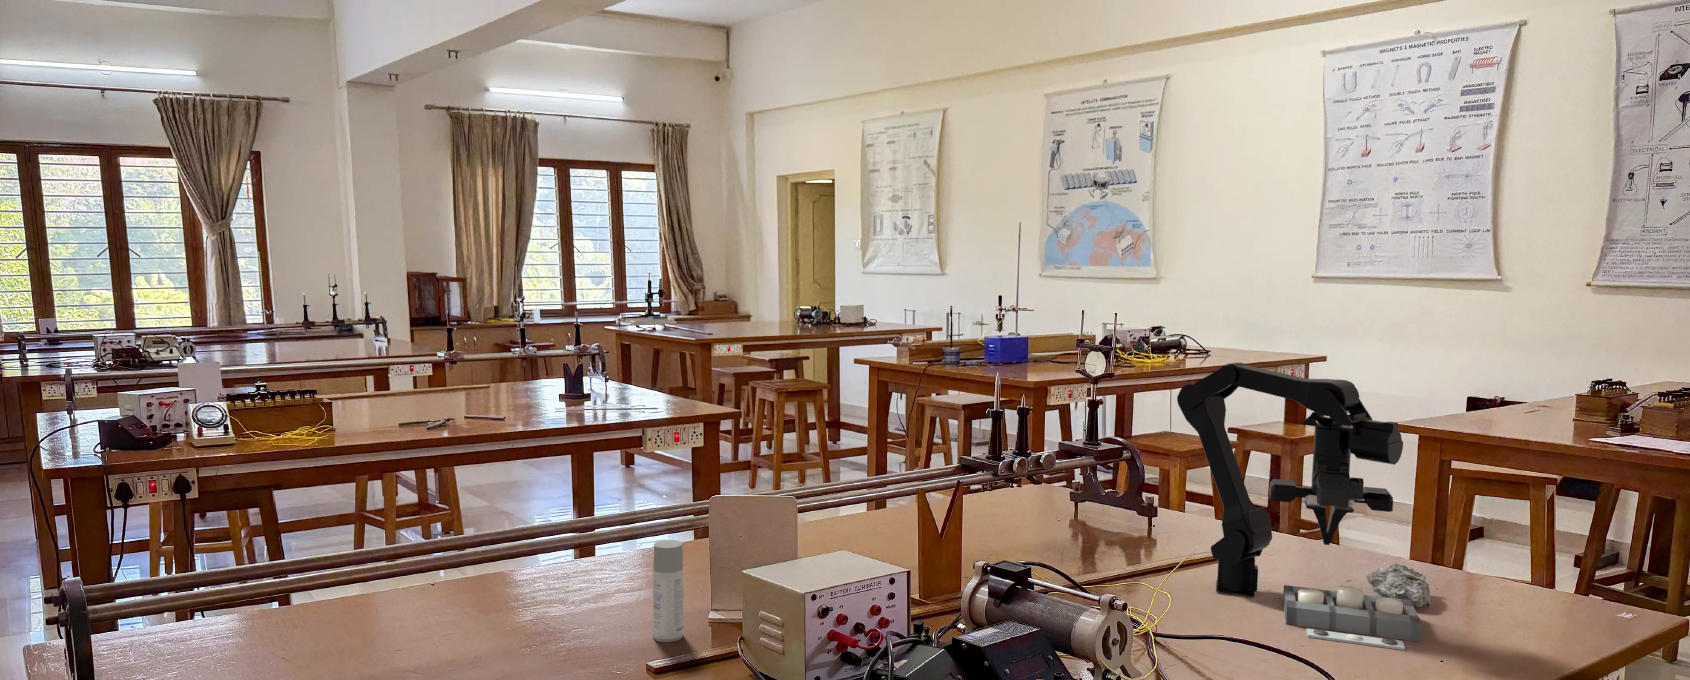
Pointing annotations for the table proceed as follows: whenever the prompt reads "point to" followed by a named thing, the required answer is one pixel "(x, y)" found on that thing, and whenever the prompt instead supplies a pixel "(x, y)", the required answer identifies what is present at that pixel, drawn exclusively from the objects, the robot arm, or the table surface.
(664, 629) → the container
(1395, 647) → the card
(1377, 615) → the button board
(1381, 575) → the mineral specimen
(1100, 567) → the table surface
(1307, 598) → the button left
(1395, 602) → the button right
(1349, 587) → the button middle
